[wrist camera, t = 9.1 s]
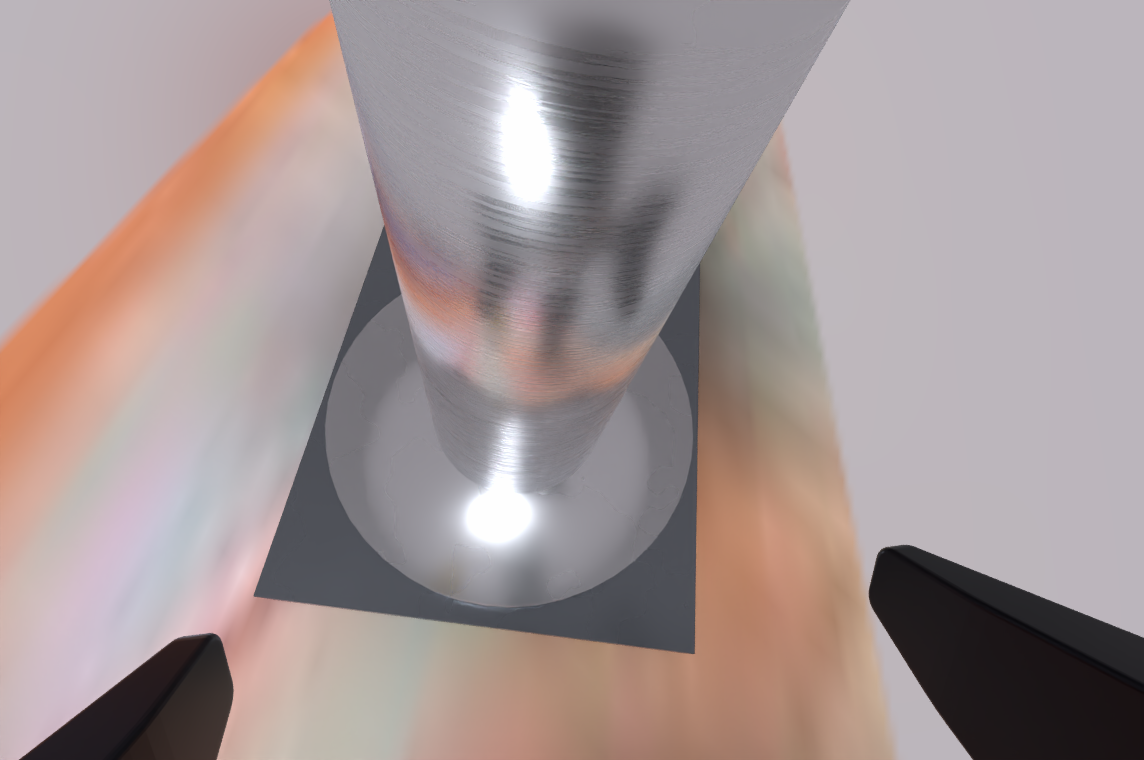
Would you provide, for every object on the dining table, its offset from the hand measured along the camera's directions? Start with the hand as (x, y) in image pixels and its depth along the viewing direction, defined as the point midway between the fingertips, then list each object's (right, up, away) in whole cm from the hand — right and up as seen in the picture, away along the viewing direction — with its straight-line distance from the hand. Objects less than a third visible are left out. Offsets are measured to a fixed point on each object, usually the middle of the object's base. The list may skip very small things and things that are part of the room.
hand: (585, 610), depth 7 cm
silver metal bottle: (-2, +2, +9) cm, 9 cm away
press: (-3, +4, +13) cm, 14 cm away
